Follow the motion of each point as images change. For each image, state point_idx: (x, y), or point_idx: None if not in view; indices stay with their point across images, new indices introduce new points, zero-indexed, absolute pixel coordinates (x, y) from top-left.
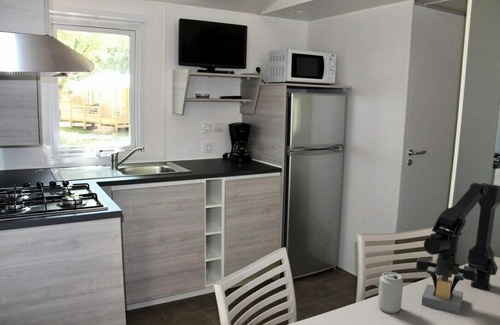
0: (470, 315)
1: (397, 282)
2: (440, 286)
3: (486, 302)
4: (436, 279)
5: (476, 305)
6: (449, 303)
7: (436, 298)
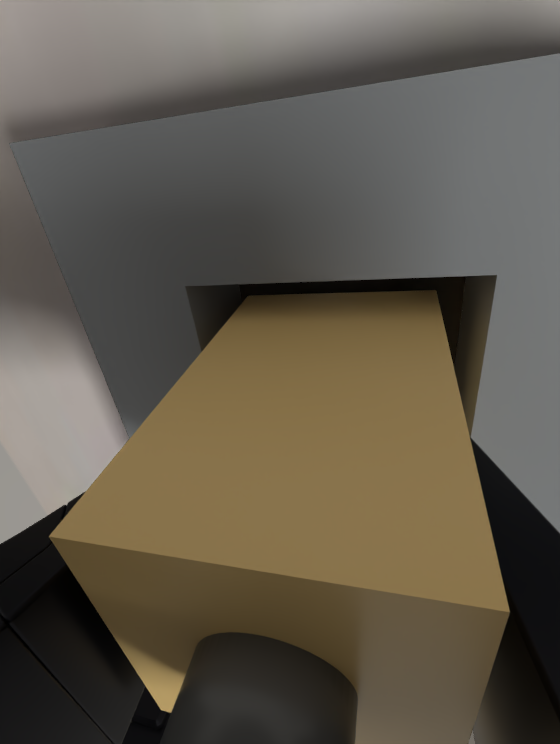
0: (25, 196)
1: None
2: (363, 435)
3: None
4: (523, 661)
5: (95, 431)
6: (166, 118)
7: (417, 172)
